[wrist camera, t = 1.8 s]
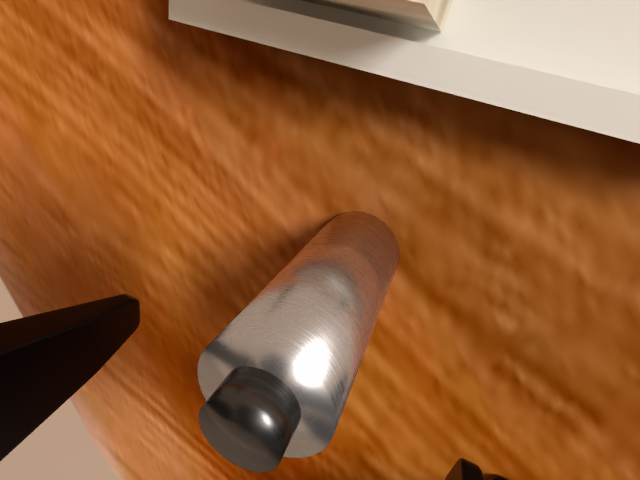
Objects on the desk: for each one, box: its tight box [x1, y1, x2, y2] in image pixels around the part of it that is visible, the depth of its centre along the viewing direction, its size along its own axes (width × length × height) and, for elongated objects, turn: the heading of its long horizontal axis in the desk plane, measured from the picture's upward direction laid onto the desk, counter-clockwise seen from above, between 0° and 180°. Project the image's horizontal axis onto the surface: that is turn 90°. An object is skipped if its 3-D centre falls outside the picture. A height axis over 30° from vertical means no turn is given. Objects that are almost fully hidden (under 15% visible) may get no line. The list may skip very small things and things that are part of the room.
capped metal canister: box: [198, 212, 399, 472], centre depth 12 cm, size 4×4×10 cm
